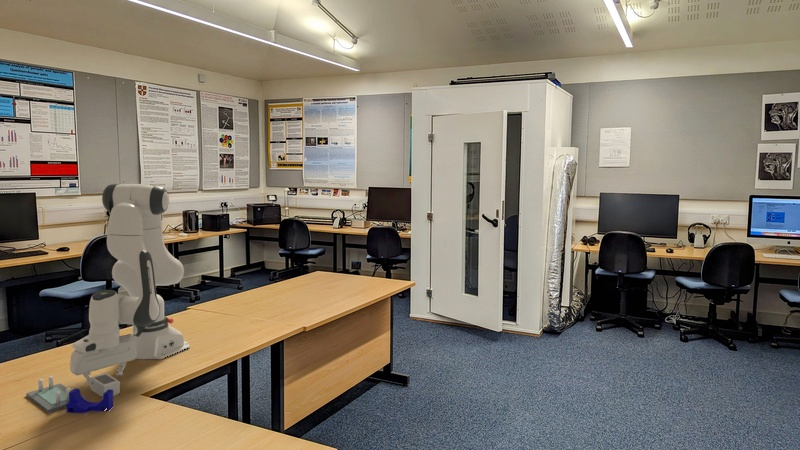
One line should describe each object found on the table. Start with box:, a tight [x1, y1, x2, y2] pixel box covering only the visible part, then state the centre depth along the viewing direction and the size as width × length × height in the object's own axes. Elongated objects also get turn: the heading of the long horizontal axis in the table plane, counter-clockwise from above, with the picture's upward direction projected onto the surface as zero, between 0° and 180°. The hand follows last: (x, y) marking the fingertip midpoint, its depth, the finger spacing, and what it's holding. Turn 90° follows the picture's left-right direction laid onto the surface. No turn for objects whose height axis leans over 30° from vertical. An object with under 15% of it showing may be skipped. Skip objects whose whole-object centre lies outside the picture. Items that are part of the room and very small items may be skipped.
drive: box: [89, 372, 121, 398], centre depth 177 cm, size 5×10×5 cm, turn 54°
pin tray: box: [25, 375, 72, 414], centre depth 170 cm, size 10×17×5 cm, turn 54°
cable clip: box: [66, 387, 114, 414], centre depth 165 cm, size 12×4×6 cm, turn 92°
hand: (105, 379), depth 176 cm, fingers open, 8 cm apart
